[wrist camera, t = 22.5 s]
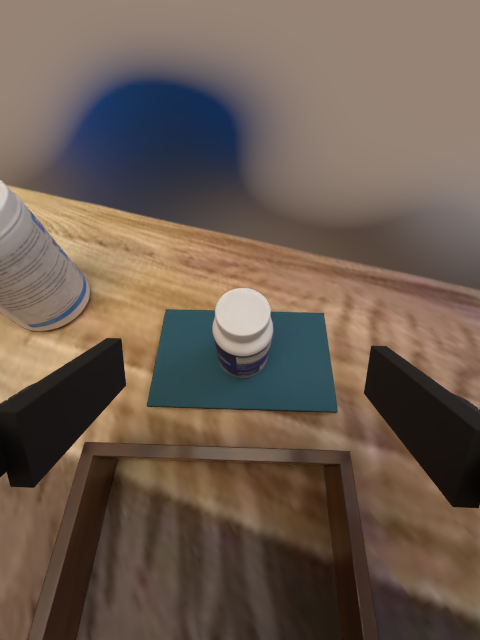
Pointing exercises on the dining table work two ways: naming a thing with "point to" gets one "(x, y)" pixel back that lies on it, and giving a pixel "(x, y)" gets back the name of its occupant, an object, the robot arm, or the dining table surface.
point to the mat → (252, 392)
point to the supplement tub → (35, 271)
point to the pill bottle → (242, 332)
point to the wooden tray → (100, 460)
